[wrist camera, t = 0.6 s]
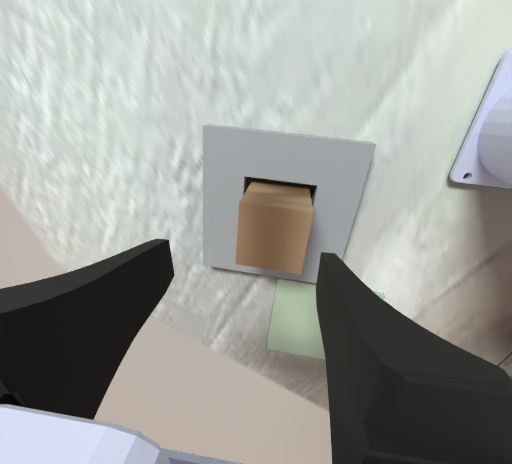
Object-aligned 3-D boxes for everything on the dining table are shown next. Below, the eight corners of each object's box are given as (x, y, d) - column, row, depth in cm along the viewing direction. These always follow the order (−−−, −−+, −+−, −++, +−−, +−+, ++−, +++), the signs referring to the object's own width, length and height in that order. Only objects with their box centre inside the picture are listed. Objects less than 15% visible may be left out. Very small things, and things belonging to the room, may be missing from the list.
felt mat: (383, 293, 23) (384, 295, 23) (354, 362, 28) (355, 365, 27) (278, 276, 24) (277, 278, 24) (266, 346, 29) (266, 349, 28)
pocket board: (369, 142, 18) (376, 144, 17) (332, 276, 23) (334, 286, 22) (209, 124, 19) (202, 125, 18) (208, 256, 24) (203, 265, 23)
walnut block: (308, 185, 20) (313, 212, 15) (299, 234, 22) (300, 274, 17) (253, 178, 20) (239, 202, 15) (249, 227, 22) (235, 264, 17)
